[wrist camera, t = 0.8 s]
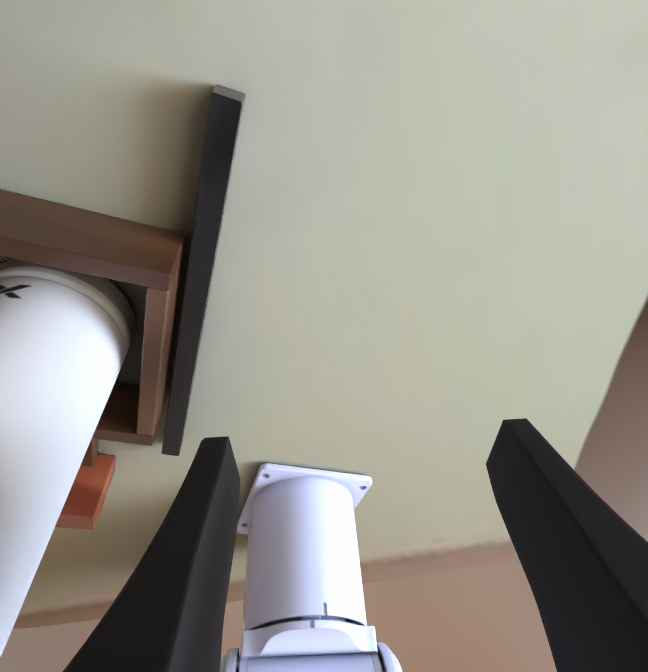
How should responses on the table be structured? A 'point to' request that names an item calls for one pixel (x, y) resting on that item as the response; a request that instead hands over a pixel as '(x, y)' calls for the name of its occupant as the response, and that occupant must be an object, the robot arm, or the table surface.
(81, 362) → the travel mug
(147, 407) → the carrier
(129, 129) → the table surface
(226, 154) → the rails
